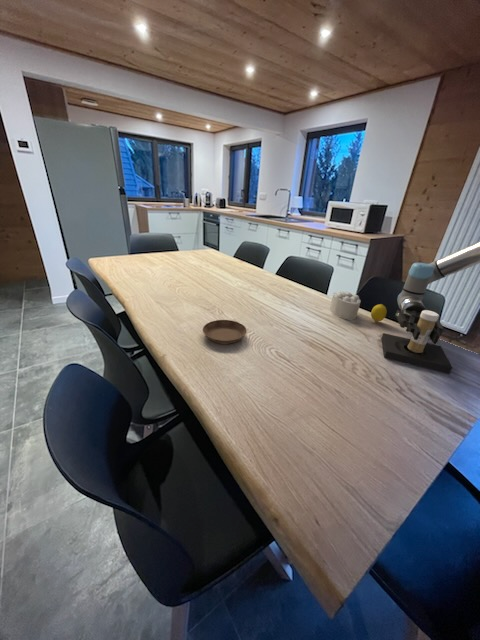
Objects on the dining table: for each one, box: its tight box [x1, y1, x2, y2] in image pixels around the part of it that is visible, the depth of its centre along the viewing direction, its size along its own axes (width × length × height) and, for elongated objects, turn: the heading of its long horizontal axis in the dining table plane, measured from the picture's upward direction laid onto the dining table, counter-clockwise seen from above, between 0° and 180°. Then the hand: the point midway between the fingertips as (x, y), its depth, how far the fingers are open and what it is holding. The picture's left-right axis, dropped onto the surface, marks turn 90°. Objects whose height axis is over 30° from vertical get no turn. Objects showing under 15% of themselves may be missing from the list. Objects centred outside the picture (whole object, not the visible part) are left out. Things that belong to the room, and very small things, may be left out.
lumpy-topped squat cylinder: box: [329, 291, 362, 321], centre depth 115 cm, size 10×13×9 cm
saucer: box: [202, 319, 247, 345], centre depth 90 cm, size 15×15×3 cm
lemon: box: [370, 303, 388, 323], centre depth 109 cm, size 6×6×8 cm
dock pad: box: [380, 332, 453, 375], centre depth 88 cm, size 18×14×2 cm
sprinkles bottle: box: [407, 309, 440, 354], centre depth 83 cm, size 5×5×13 cm
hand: (426, 338), depth 79 cm, fingers closed on sprinkles bottle, 4 cm apart
